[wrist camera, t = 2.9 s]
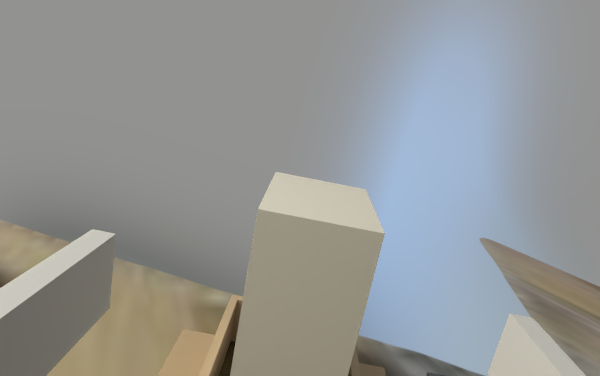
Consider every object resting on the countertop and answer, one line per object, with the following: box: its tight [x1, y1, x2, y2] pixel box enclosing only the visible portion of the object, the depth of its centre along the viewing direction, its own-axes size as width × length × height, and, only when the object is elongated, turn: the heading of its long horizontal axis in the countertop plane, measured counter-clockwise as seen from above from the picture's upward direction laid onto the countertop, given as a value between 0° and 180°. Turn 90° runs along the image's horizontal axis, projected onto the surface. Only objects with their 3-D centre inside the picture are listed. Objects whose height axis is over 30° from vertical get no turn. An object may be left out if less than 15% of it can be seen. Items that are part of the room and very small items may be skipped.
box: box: [230, 172, 385, 376], centre depth 25 cm, size 6×8×16 cm
